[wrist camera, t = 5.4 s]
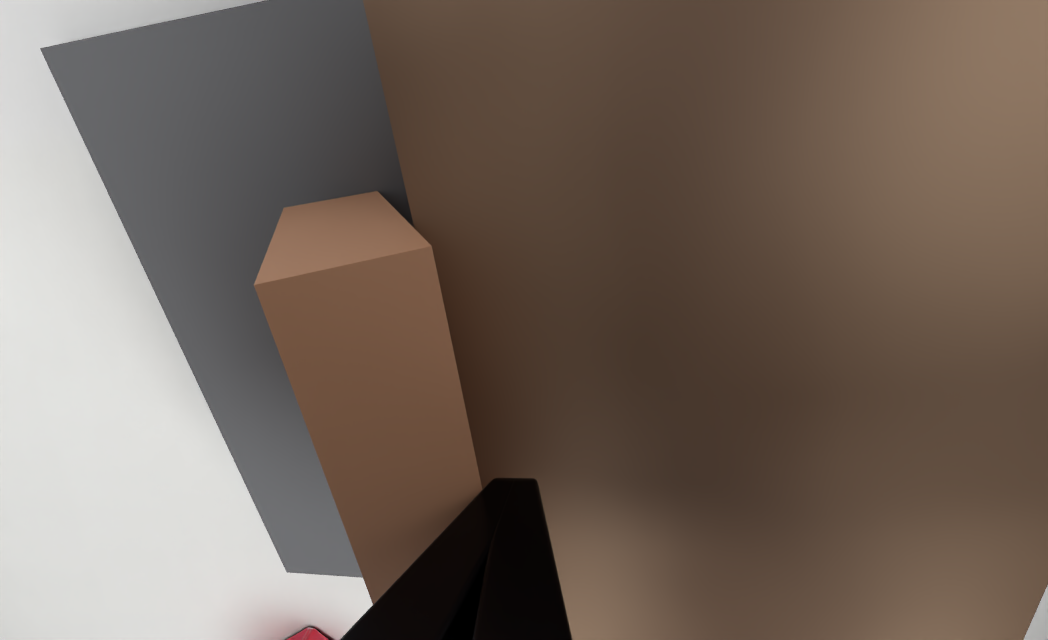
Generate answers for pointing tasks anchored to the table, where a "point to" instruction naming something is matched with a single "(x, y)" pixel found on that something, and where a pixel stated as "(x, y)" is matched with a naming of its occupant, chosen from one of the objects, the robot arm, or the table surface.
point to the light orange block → (372, 374)
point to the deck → (747, 299)
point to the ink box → (308, 635)
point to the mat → (238, 207)
